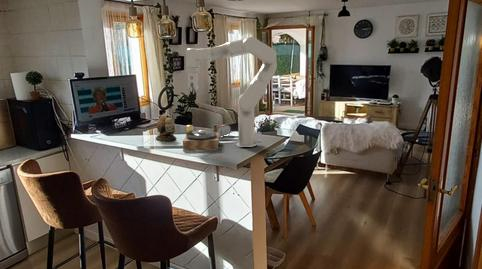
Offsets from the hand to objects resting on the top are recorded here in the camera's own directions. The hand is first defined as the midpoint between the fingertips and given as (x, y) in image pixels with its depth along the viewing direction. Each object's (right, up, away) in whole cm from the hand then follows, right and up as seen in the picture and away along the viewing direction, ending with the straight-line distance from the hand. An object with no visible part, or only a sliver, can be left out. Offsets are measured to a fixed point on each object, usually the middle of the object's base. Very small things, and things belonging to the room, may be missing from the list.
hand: (192, 100), depth 204 cm
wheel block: (+5, -27, +7) cm, 28 cm away
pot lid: (+5, -21, +5) cm, 22 cm away
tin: (+16, -22, +30) cm, 41 cm away
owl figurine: (-21, -24, +26) cm, 41 cm away
